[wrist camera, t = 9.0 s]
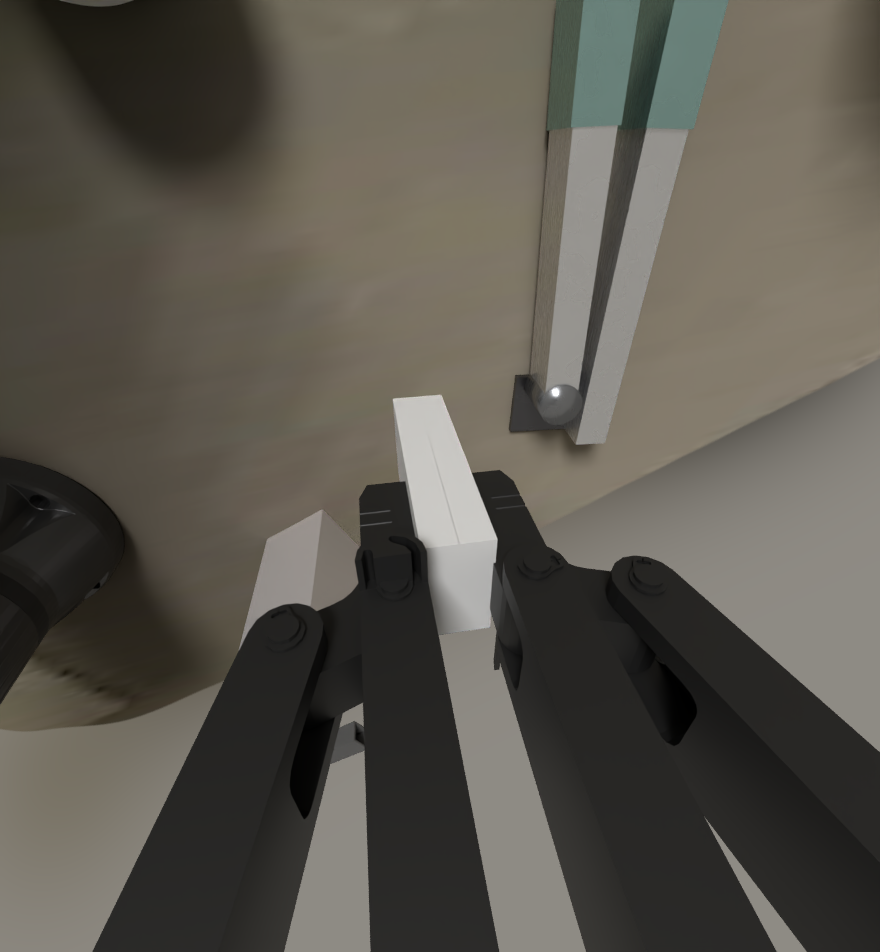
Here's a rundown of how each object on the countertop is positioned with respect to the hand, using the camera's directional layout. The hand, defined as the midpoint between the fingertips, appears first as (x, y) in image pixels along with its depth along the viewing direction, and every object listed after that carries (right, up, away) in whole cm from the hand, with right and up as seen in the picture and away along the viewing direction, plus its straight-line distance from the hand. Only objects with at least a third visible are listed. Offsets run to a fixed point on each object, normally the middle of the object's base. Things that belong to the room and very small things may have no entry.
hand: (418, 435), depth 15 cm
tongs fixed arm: (+11, +14, +18) cm, 25 cm away
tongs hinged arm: (+9, +15, +16) cm, 24 cm away
